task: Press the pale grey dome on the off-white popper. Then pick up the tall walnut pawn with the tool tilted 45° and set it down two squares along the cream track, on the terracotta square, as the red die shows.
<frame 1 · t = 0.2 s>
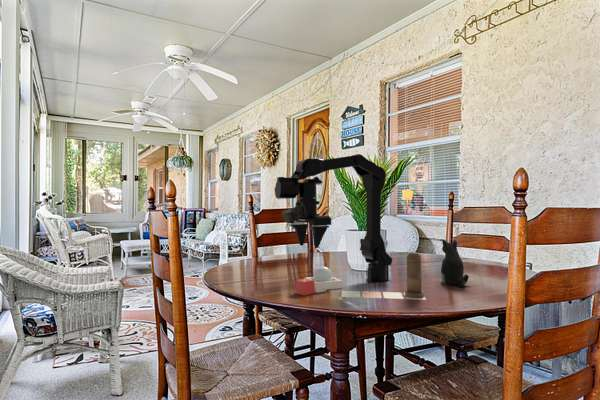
hand: (308, 246, 123), 13 cm above the table, tool pointing down, fingers open, 9 cm apart
pawn: (414, 295, 109), point 1 cm above the table, touching track board
track board: (382, 297, 110), on the table
figurine: (455, 286, 126), on the table
dome: (323, 275, 123), point 4 cm above the table, slide at 0.0 cm
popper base: (323, 288, 123), on the table
red die: (304, 293, 116), on the table
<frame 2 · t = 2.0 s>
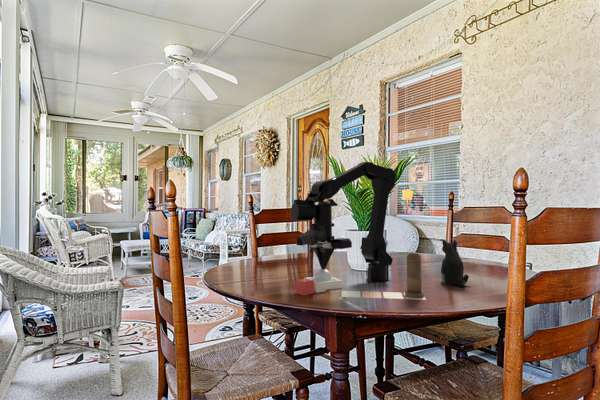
hand: (323, 268, 123), 6 cm above the table, tool pointing down, fingers closed, pressing on dome
dome: (323, 277, 123), point 3 cm above the table, slide at 0.7 cm, touching gripper
everything else where it was.
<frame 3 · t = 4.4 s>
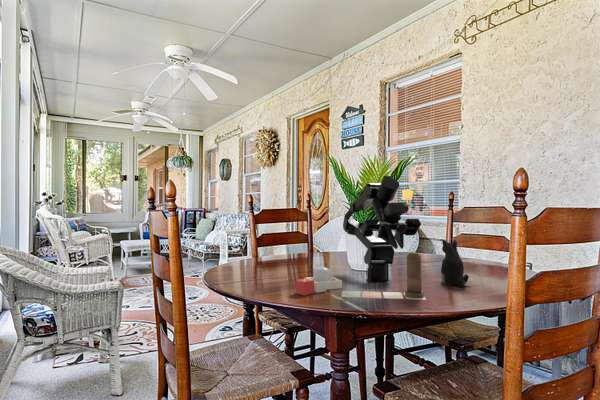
hand: (399, 247, 117), 14 cm above the table, tool tilted 45°, fingers closed
dome: (323, 276, 123), point 4 cm above the table, slide at 0.3 cm
everything else where it was.
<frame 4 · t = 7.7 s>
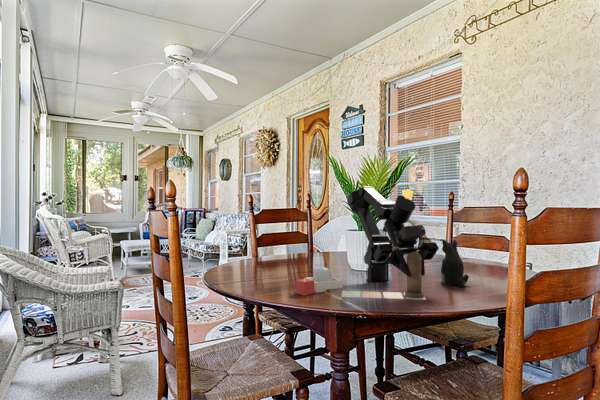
hand: (416, 275, 108), 7 cm above the table, tool tilted 45°, fingers closed on pawn, 4 cm apart
pawn: (414, 295, 109), point 1 cm above the table, touching gripper, track board
everything else where it was.
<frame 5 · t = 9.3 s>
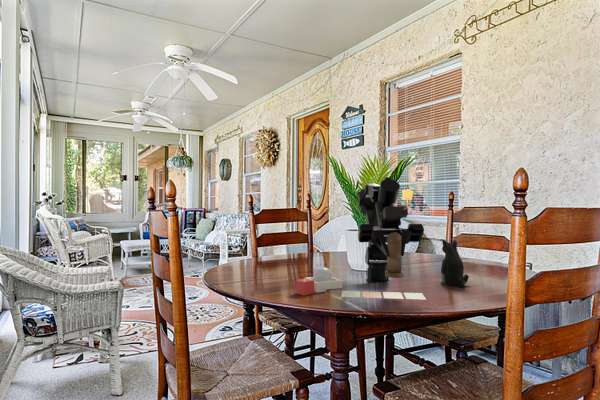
hand: (395, 255, 108), 12 cm above the table, tool tilted 45°, fingers closed on pawn, 4 cm apart
pawn: (394, 276, 109), point 6 cm above the table, touching gripper
everything else where it was.
when the fingers open (8 cm above the table, at t = 11.1 s): pawn drops 1 cm, resting on track board.
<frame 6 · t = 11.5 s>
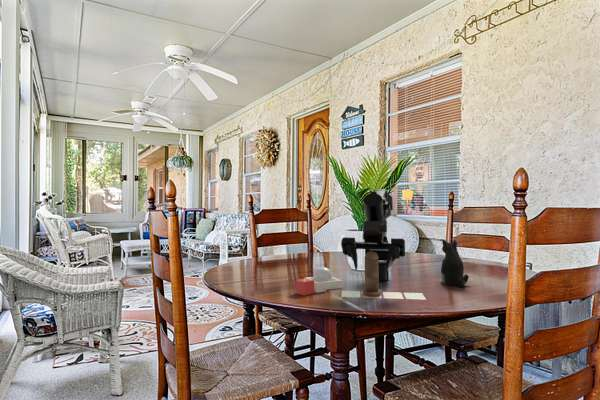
hand: (371, 269, 110), 8 cm above the table, tool tilted 45°, fingers open, 8 cm apart
pawn: (371, 294, 111), point 1 cm above the table, touching track board
everything else where it was.
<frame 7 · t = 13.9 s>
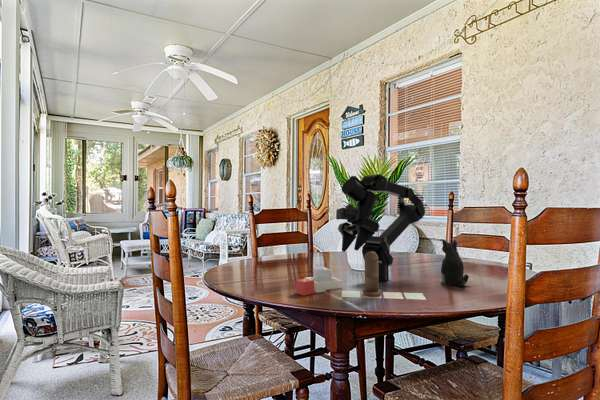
hand: (349, 250, 124), 12 cm above the table, tool tilted 30°, fingers open, 9 cm apart
nothing on the table moved.
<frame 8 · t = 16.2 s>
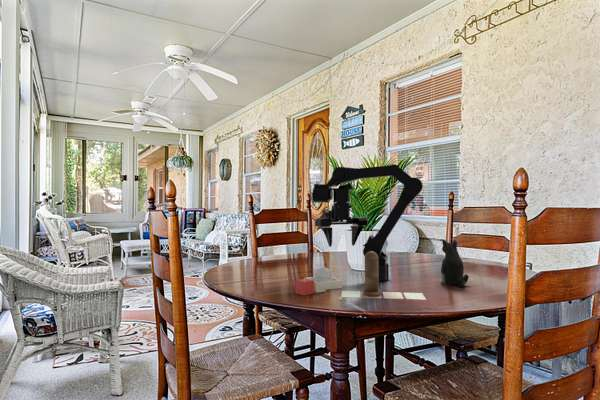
hand: (341, 246, 136), 12 cm above the table, tool pointing down, fingers open, 9 cm apart
nothing on the table moved.
at the end: pawn 0.0 cm from the target spot, point 0.7 cm above the table; pawn tilted 0°; the gripper is holding nothing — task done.
